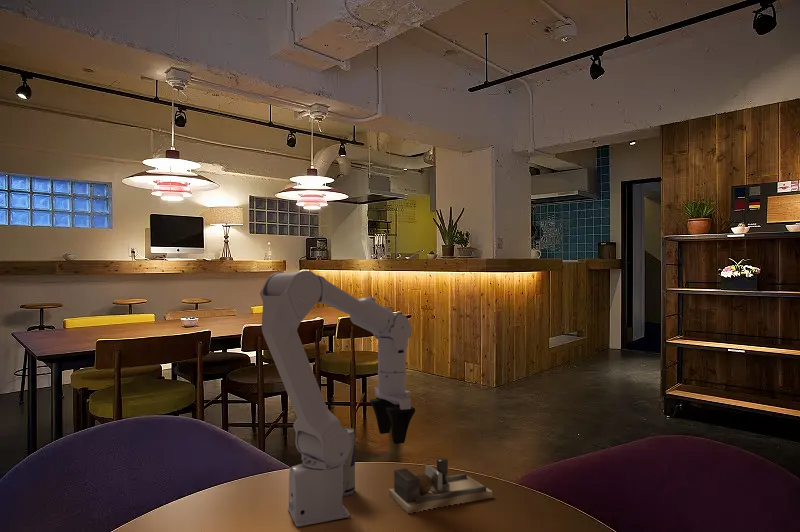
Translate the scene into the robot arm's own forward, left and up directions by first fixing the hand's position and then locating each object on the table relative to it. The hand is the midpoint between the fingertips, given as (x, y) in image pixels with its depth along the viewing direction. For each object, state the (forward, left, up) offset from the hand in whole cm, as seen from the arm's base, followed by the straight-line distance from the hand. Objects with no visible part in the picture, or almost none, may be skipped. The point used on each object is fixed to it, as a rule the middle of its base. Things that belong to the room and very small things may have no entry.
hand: (391, 437), depth 101 cm
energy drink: (-10, +2, -10) cm, 14 cm away
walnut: (+3, -8, -9) cm, 12 cm away
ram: (+7, -8, -8) cm, 13 cm away
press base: (+7, -8, -10) cm, 15 cm away
